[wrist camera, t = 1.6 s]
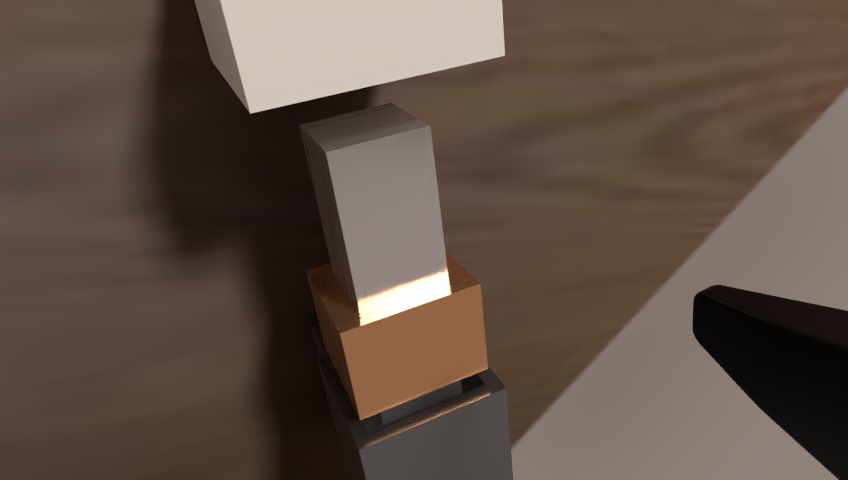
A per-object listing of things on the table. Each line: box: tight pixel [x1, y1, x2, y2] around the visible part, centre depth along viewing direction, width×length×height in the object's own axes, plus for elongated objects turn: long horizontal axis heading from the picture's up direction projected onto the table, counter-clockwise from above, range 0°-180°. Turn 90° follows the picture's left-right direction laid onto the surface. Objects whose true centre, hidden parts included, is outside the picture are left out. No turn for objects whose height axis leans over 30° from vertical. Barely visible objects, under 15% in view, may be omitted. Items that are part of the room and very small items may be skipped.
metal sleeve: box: [309, 316, 513, 480], centre depth 21 cm, size 6×5×7 cm
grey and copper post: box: [299, 103, 488, 432], centre depth 18 cm, size 12×4×4 cm, turn 8°
